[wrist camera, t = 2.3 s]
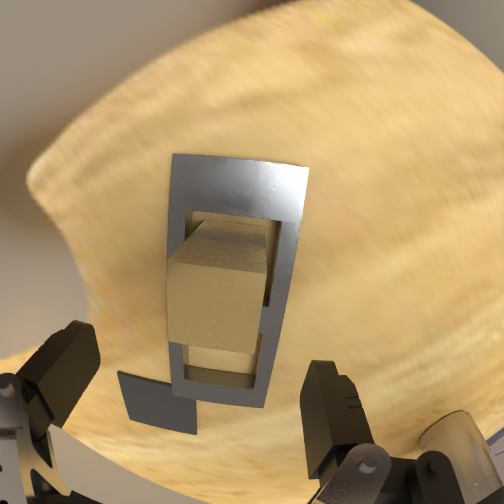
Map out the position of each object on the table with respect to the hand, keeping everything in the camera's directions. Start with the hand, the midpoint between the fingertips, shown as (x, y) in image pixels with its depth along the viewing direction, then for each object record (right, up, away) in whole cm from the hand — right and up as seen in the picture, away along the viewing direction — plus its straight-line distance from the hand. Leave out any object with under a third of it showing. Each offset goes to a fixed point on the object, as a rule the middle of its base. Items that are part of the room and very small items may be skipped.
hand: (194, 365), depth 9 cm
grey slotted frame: (0, 0, +14) cm, 14 cm away
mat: (-9, -14, +19) cm, 25 cm away
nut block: (0, +4, +12) cm, 13 cm away
